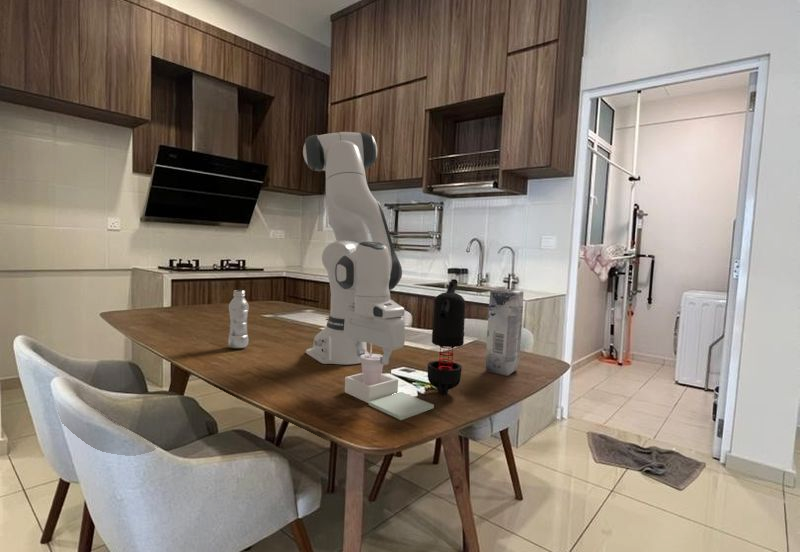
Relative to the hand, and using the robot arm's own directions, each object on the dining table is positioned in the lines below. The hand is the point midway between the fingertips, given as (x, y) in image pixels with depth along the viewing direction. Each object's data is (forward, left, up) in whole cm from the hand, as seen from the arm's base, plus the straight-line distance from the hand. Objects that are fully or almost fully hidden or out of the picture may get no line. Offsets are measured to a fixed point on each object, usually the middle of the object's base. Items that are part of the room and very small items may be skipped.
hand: (372, 360), depth 107 cm
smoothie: (0, 0, -9) cm, 9 cm away
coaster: (+11, 0, -9) cm, 14 cm away
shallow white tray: (0, 0, -9) cm, 9 cm away
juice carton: (+10, +46, -9) cm, 48 cm away
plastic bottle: (-61, -8, -9) cm, 62 cm away
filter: (+12, +14, -9) cm, 21 cm away
